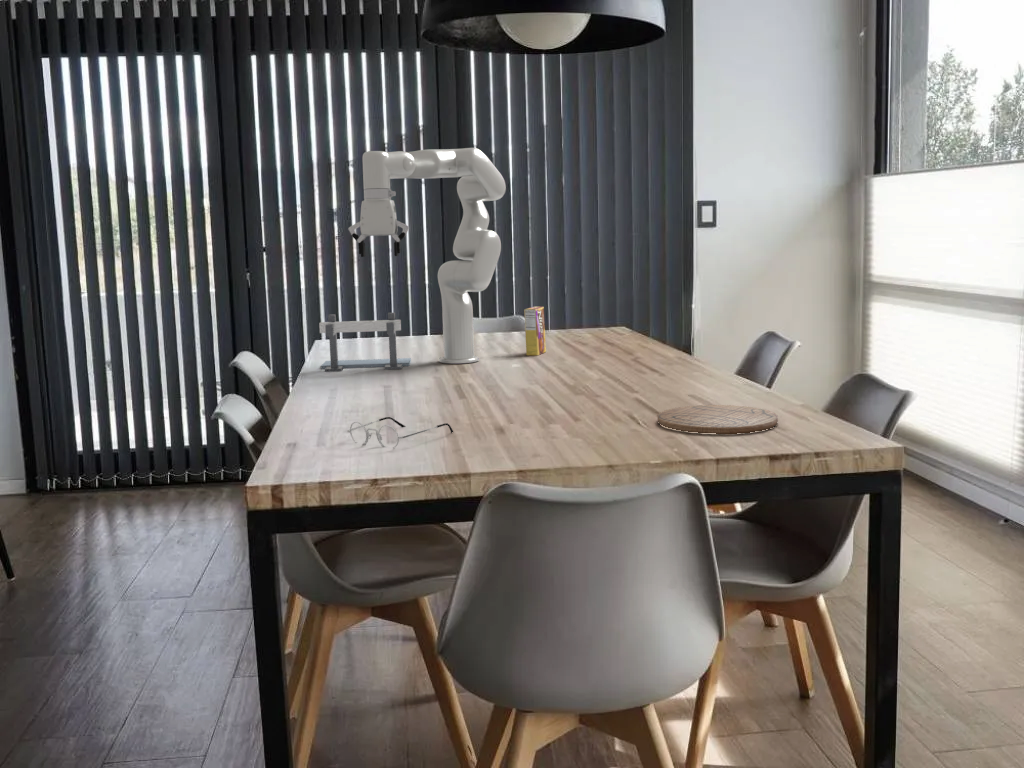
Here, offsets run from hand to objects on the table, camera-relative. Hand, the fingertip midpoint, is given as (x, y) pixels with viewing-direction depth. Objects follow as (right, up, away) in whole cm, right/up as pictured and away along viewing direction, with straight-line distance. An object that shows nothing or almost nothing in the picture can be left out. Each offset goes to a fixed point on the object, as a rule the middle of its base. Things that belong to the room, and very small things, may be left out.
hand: (379, 256), depth 293 cm
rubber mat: (-8, -31, +28) cm, 42 cm away
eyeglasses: (+15, -48, -82) cm, 96 cm away
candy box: (+46, -27, +43) cm, 68 cm away
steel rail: (-7, -21, +13) cm, 26 cm away
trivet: (+81, -45, -76) cm, 120 cm away
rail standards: (-7, -32, +18) cm, 38 cm away
